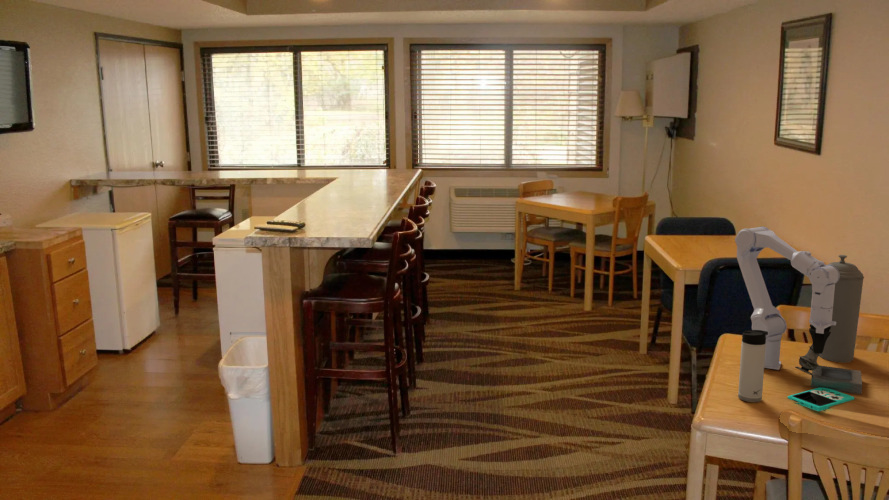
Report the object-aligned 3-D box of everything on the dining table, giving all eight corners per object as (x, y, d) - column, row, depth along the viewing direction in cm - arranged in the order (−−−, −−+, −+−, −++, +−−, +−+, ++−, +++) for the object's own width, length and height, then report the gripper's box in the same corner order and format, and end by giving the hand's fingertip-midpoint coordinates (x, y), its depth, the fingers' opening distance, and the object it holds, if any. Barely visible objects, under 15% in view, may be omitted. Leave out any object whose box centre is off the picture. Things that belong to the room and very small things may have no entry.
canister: (864, 365, 232) (875, 258, 226) (826, 366, 232) (836, 259, 226) (840, 352, 245) (849, 251, 239) (804, 354, 244) (812, 252, 238)
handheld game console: (855, 401, 204) (855, 396, 204) (819, 412, 197) (819, 407, 197) (822, 389, 213) (822, 385, 213) (786, 399, 206) (787, 395, 205)
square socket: (810, 387, 214) (811, 377, 213) (812, 373, 225) (812, 364, 224) (861, 394, 208) (862, 384, 207) (860, 380, 219) (860, 370, 218)
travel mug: (761, 404, 201) (766, 335, 198) (736, 399, 205) (740, 331, 201) (764, 397, 206) (769, 329, 203) (740, 392, 210) (744, 326, 206)
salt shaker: (816, 378, 212) (836, 341, 211) (798, 369, 212) (817, 332, 211) (809, 373, 218) (828, 338, 217) (791, 365, 218) (809, 329, 217)
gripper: (837, 313, 204) (833, 359, 206) (837, 302, 216) (833, 346, 219) (809, 310, 207) (805, 356, 209) (811, 299, 220) (807, 342, 222)
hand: (818, 350), depth 214 cm, fingers closed on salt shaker, 4 cm apart
